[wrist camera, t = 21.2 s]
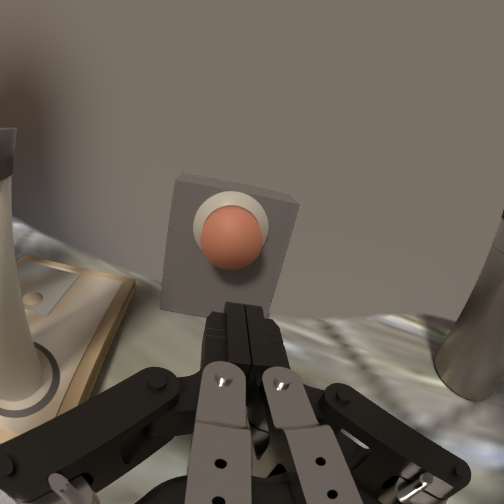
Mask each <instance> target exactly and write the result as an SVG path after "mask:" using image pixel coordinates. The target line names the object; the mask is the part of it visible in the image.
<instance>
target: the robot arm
mask: <svg viewBox="0 0 504 504" xmlns="http://www.w3.org/2000/svg"><path fill="white" fill-rule="evenodd" d="M434 362H435V367H436V370H437V372H438V374H439V376H440V377H441V379H442V380H443V381H444V382H445V384H446V385H447V386H448V387H449V388H451V389H452V390H453V391H454V392H456V393H457V394H458V395H460V396H462V397H464V398H466V399H469V400H473V401H481V400H484V399H486V398H487V397H488V396H489V394H490V393H491V392H492V391H493V389H494V388H495V387H496V386H497V384H498V383H499V382H500V380H501V379H502V378H503V376H504V211H503V214H502V219H501V220H500V223H499V226H498V229H497V232H496V235H495V238H494V241H493V243H492V246H491V249H490V251H489V254H488V256H487V259H486V261H485V264H484V266H483V269H482V271H481V273H480V275H479V278H478V280H477V282H476V285H475V286H474V288H473V290H472V293H471V295H470V297H469V299H468V301H467V303H466V304H465V307H464V308H463V310H462V312H461V314H460V316H459V318H458V319H457V321H456V323H455V325H454V327H453V328H452V330H451V332H450V333H449V335H448V337H447V338H446V340H445V342H444V343H443V345H442V346H441V348H440V350H439V351H438V353H437V354H436V356H435V361H434ZM246 406H247V411H248V414H247V416H246ZM342 429H344V430H345V431H347V432H348V433H350V434H351V435H352V436H354V437H355V438H357V439H358V440H359V441H361V442H362V443H364V444H365V445H366V446H368V447H369V448H370V449H365V448H363V447H361V446H360V445H358V444H357V443H355V442H354V441H353V440H351V439H350V438H348V437H347V436H346V435H344V434H343V433H342V432H340V431H341V430H342ZM192 433H193V434H192ZM186 434H192V441H191V448H190V455H189V462H188V469H187V475H186V476H181V477H176V478H173V479H170V480H167V481H165V482H163V483H161V484H159V485H158V486H156V487H155V488H153V489H152V490H151V491H149V492H148V493H147V494H146V495H145V496H143V497H142V498H141V499H140V500H139V501H137V502H136V503H135V504H446V502H447V500H448V498H449V497H451V496H452V495H454V494H455V493H457V492H458V491H460V490H461V489H463V488H464V487H466V486H467V485H468V484H469V482H470V480H471V470H470V468H469V466H468V464H467V463H466V462H465V461H464V460H462V459H460V458H459V457H457V456H455V455H454V454H452V453H450V452H449V451H447V450H446V449H444V448H442V447H441V446H439V445H437V444H436V443H434V442H433V441H431V440H429V439H428V438H426V437H425V436H423V435H421V434H420V433H418V432H417V431H415V430H414V429H412V428H411V427H409V426H408V425H406V424H404V423H403V422H401V421H400V420H398V419H397V418H395V417H394V416H392V415H391V414H389V413H388V412H386V411H385V410H383V409H382V408H381V407H379V406H378V405H376V404H375V403H373V402H372V401H370V400H369V399H367V398H366V397H365V396H363V395H362V394H360V393H359V392H357V391H356V390H355V389H353V388H352V387H350V386H348V385H345V384H342V383H334V384H331V385H329V386H328V387H327V388H326V390H325V391H324V390H320V389H316V388H312V387H309V386H306V385H304V384H303V383H302V381H301V379H300V377H299V376H298V375H297V374H296V373H295V372H294V371H292V370H290V366H289V362H288V358H287V355H286V351H285V347H284V345H283V340H282V338H281V332H280V328H279V327H278V325H277V324H276V323H275V322H274V321H273V319H265V317H264V313H263V308H262V306H256V305H249V304H242V303H235V302H228V301H226V303H225V306H224V311H223V313H221V312H214V311H212V312H211V313H210V315H209V316H208V317H207V319H206V325H205V330H204V336H203V342H202V351H201V366H200V371H199V372H197V373H196V374H194V375H191V376H186V377H178V378H177V377H176V376H175V375H174V374H173V373H172V372H171V371H169V370H167V369H164V368H160V367H149V368H145V369H143V370H141V371H139V372H138V373H136V374H134V375H132V376H131V377H129V378H127V379H125V380H124V381H122V382H120V383H118V384H116V385H115V386H113V387H111V388H109V389H108V390H106V391H104V392H102V393H100V394H98V395H97V396H95V397H93V398H91V399H89V400H87V401H86V402H84V403H82V404H80V405H78V406H76V407H74V408H72V409H70V410H69V411H67V412H65V413H63V414H61V415H59V416H57V417H55V418H53V419H51V420H49V421H47V422H45V423H43V424H41V425H39V426H37V427H35V428H33V429H31V430H29V431H27V432H25V433H23V434H21V435H19V436H16V437H14V438H12V439H10V440H8V441H6V442H4V443H1V444H0V489H1V490H2V491H4V492H5V493H6V494H7V495H8V496H9V497H10V498H12V499H13V500H14V501H15V502H16V503H17V504H100V500H99V498H98V496H97V494H96V493H97V492H99V491H100V490H102V489H103V488H105V487H106V486H108V485H109V484H111V483H112V482H114V481H115V480H117V479H118V478H120V477H121V476H123V475H124V474H126V473H127V472H129V471H130V470H131V469H133V468H134V467H136V466H137V465H138V464H140V463H141V462H143V461H144V460H145V459H147V458H148V457H149V456H151V455H152V454H153V453H155V452H156V451H157V450H159V449H160V448H161V447H163V446H164V445H165V444H167V443H168V442H169V441H171V440H172V439H173V438H174V436H179V435H186ZM251 458H252V465H253V467H252V475H251Z"/></svg>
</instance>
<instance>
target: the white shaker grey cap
mask: <svg viewBox="0 0 504 504" xmlns="http://www.w3.org/2000/svg"><path fill="white" fill-rule="evenodd" d="M16 131H17V129H16V128H0V399H3V400H6V401H11V402H16V401H21V400H24V399H27V398H29V397H30V396H32V395H33V394H34V393H35V392H36V391H37V390H38V388H39V386H40V384H41V382H42V377H43V372H42V368H41V365H40V362H39V359H38V356H37V353H36V349H35V346H34V343H33V339H32V336H31V332H30V329H29V325H28V321H27V317H26V313H25V309H24V304H23V299H22V294H21V289H20V284H19V278H18V272H17V265H16V258H15V250H14V240H13V228H12V210H11V175H12V174H13V167H14V151H15V140H16Z"/></svg>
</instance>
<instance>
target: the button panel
mask: <svg viewBox="0 0 504 504" xmlns="http://www.w3.org/2000/svg"><path fill="white" fill-rule="evenodd" d="M226 205H237V206H241V207H243V208H245V209H247V210H249V211H250V212H251V213H252V214H253V215H254V216H255V217H256V219H257V221H258V223H259V226H260V229H261V232H262V236H263V245H262V249H261V252H260V254H259V255H258V257H257V258H256V259H255V260H254V261H253V262H252V263H251V264H250V265H248V266H246V267H244V268H241V269H237V270H226V269H222V268H219V267H217V266H215V265H213V264H212V263H211V262H209V261H208V259H207V258H206V257H205V255H204V254H203V252H202V249H201V244H200V239H201V233H202V228H203V224H204V222H205V220H206V218H207V217H208V216H209V214H210V213H211V212H213V211H214V210H216V209H217V208H219V207H222V206H226ZM299 206H300V204H299V203H298V202H297V201H296V200H295V199H294V198H293V197H292V196H291V195H290V194H286V193H282V192H277V191H273V190H268V189H264V188H259V187H254V186H249V185H244V184H240V183H234V182H229V181H224V180H219V179H214V178H208V177H203V176H196V175H191V174H185V173H182V174H181V175H180V176H179V177H178V178H177V179H176V180H175V185H174V192H173V198H172V204H171V211H170V218H169V226H168V234H167V242H166V250H165V259H164V269H163V279H162V290H161V303H160V309H162V310H167V311H172V312H178V313H184V314H190V315H196V316H202V317H208V316H209V315H210V313H211V312H212V311H214V312H221V313H223V311H224V306H225V303H226V301H228V302H235V303H242V304H249V305H256V306H262V308H263V313H264V317H265V319H266V318H267V314H268V311H269V308H270V305H271V301H272V298H273V295H274V292H275V288H276V285H277V282H278V278H279V275H280V272H281V268H282V265H283V262H284V258H285V255H286V251H287V248H288V245H289V241H290V238H291V234H292V231H293V227H294V224H295V220H296V217H297V213H298V209H299Z"/></svg>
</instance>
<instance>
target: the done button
mask: <svg viewBox="0 0 504 504" xmlns="http://www.w3.org/2000/svg"><path fill="white" fill-rule="evenodd" d="M200 244H201V249H202V252H203V254H204V255H205V257H206V258H207V259H208V261H209V262H211V263H212V264H213V265H215V266H217V267H219V268H222V269H226V270H237V269H241V268H244V267H246V266H248V265H250V264H251V263H252V262H253V261H254V260H255V259H256V258H257V257H258V255H259V254H260V252H261V249H262V245H263V236H262V232H261V229H260V226H259V223H258V221H257V219H256V217H255V216H254V215H253V214H252V213H251V212H250V211H249V210H247V209H245V208H243V207H241V206H237V205H226V206H222V207H219V208H217V209H216V210H214V211H213V212H211V213H210V214H209V216H208V217H207V218H206V220H205V222H204V224H203V228H202V233H201V239H200Z"/></svg>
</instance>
